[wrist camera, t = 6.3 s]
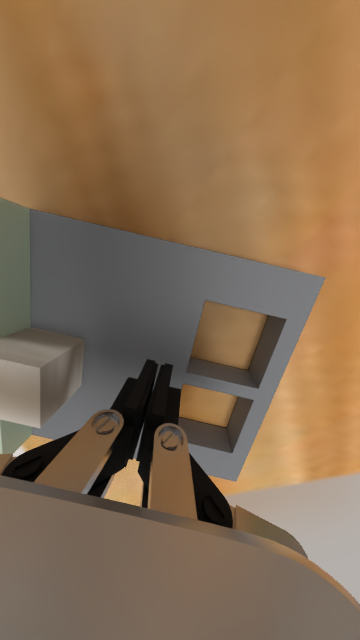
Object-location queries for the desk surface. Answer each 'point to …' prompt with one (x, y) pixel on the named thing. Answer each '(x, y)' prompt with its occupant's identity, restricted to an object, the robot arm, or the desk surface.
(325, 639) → the robot arm
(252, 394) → the trap deck
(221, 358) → the desk surface
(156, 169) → the desk surface
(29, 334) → the cream block
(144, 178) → the desk surface
